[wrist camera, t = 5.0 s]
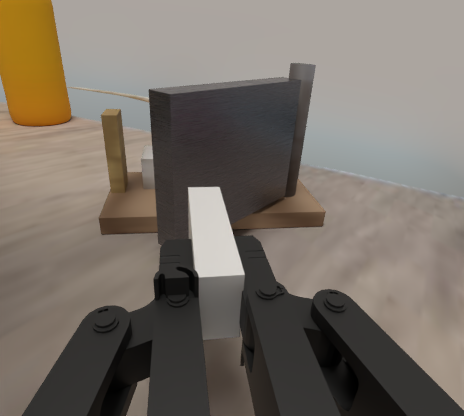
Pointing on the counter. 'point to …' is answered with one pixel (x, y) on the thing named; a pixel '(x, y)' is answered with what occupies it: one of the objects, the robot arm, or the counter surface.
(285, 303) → the robot arm
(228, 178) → the grey stone panel
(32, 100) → the beer bottle
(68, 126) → the counter surface
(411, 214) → the counter surface
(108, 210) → the grey model on base
